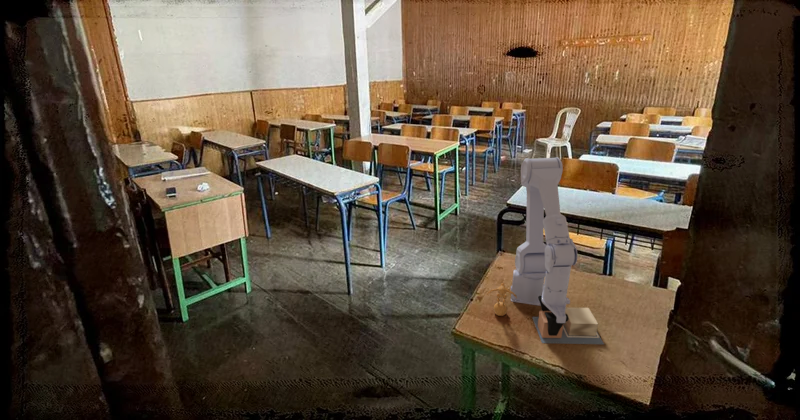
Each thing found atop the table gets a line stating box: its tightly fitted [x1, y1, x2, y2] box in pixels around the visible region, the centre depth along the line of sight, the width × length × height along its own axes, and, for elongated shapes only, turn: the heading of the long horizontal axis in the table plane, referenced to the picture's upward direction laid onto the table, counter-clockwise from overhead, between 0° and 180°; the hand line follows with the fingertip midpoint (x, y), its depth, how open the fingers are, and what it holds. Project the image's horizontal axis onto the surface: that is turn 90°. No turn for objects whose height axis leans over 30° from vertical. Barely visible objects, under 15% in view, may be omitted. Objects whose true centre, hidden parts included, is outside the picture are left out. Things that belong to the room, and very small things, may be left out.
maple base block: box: [564, 306, 599, 336], centre depth 114 cm, size 7×7×4 cm
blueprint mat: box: [532, 316, 605, 345], centre depth 114 cm, size 16×11×1 cm
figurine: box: [486, 282, 517, 317], centre depth 118 cm, size 8×6×12 cm
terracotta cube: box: [538, 310, 563, 338], centre depth 112 cm, size 5×5×5 cm
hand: (549, 327), depth 113 cm, fingers closed on terracotta cube, 5 cm apart
